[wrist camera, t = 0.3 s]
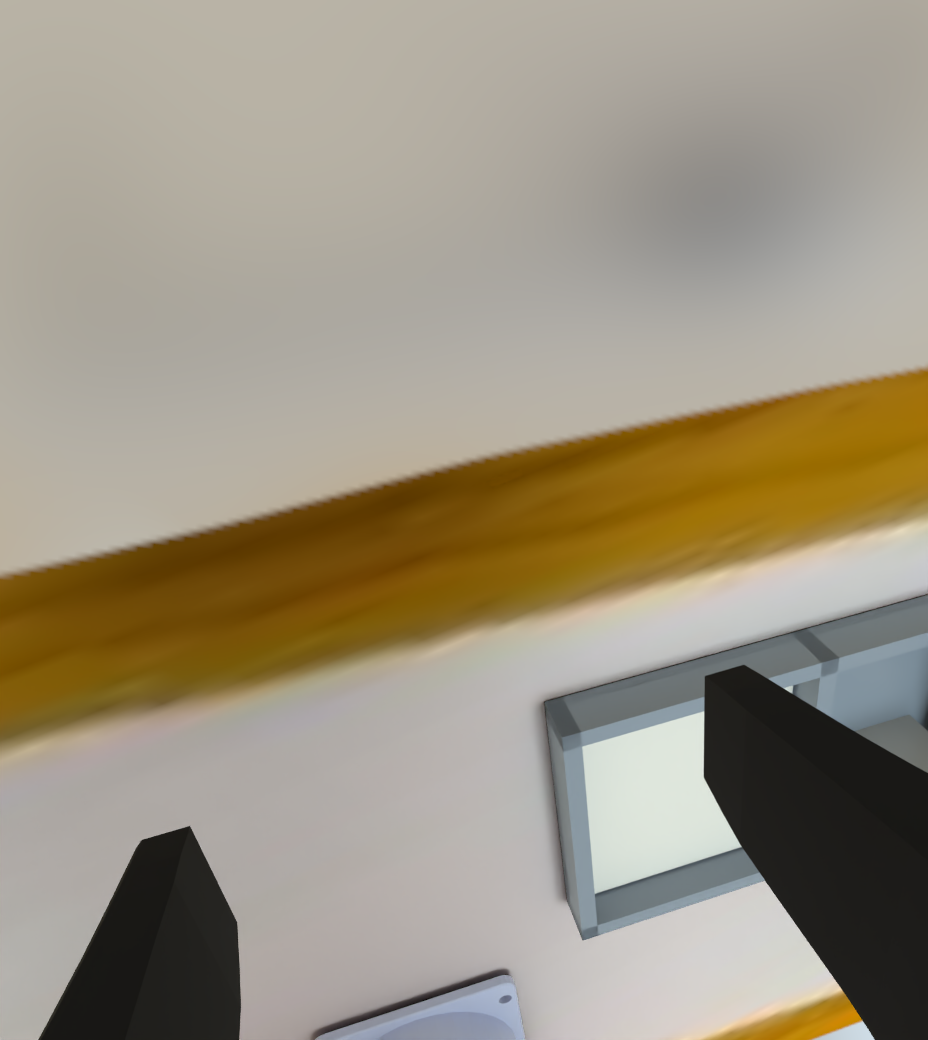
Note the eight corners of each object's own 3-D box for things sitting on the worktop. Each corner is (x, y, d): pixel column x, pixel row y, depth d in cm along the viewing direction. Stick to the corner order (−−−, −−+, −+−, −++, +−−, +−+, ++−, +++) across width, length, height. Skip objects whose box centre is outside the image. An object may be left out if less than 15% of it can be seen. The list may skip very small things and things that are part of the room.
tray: (993, 764, 31) (1027, 794, 30) (567, 901, 28) (582, 940, 27) (1053, 559, 26) (1098, 583, 25) (544, 701, 23) (561, 737, 22)
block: (893, 788, 29) (1015, 915, 25) (802, 818, 29) (909, 952, 24) (909, 714, 27) (1044, 836, 23) (811, 744, 27) (929, 874, 22)
